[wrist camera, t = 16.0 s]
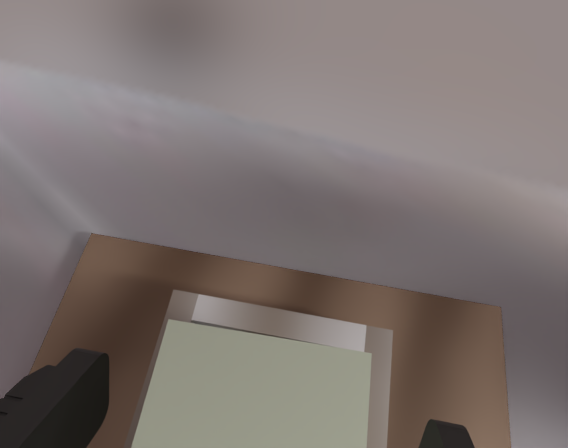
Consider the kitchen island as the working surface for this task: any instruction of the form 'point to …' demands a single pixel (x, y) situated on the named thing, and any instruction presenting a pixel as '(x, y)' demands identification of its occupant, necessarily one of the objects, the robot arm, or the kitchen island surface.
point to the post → (253, 392)
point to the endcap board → (285, 335)
